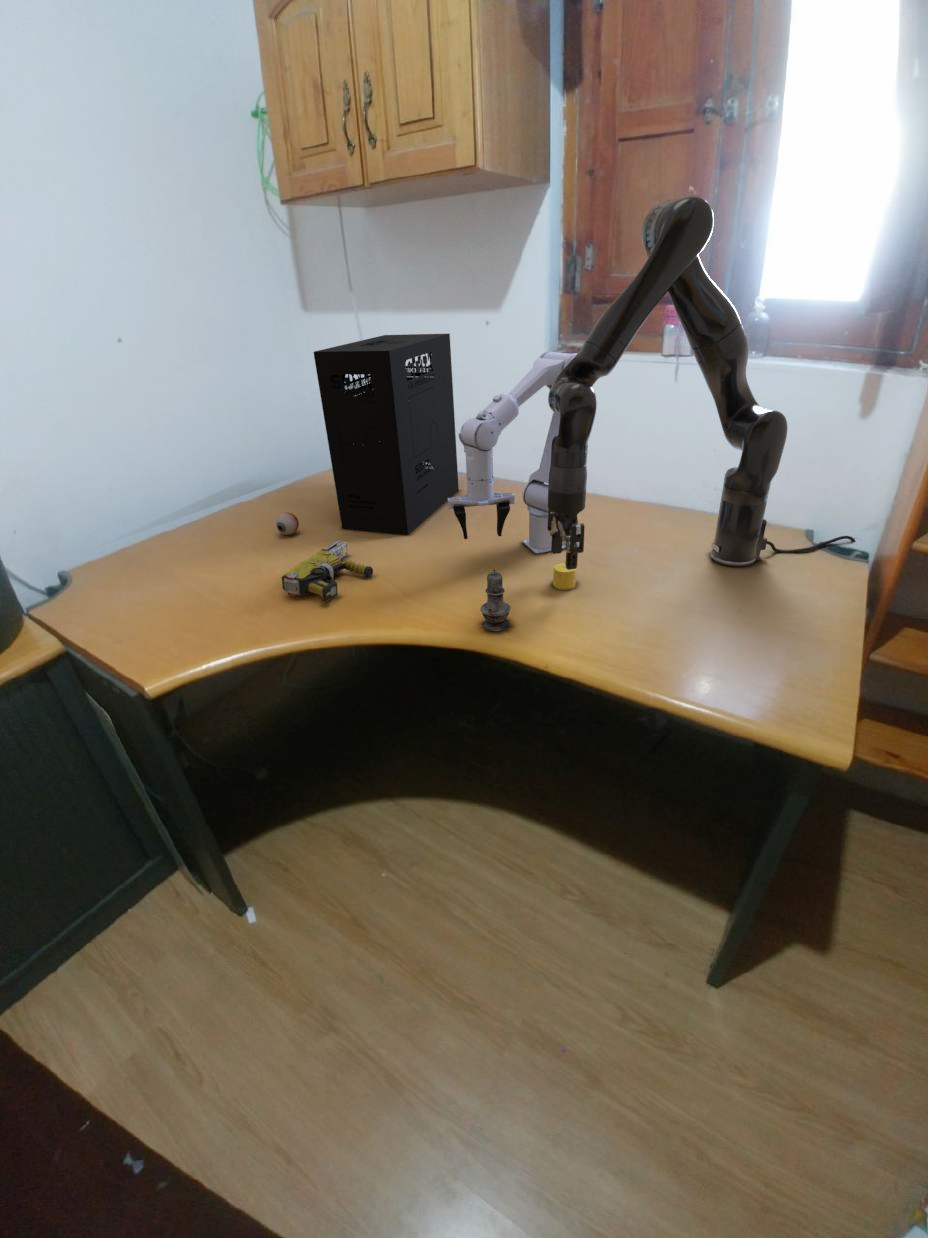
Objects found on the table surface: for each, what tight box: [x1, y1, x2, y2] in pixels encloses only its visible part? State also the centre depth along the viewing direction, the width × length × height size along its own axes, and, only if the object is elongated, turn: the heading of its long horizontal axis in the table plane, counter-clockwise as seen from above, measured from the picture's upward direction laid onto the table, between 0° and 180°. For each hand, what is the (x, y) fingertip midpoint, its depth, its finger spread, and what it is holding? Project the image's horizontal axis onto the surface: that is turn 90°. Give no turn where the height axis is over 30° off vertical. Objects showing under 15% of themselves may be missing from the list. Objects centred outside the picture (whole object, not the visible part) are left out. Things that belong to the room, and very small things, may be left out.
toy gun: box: [281, 539, 374, 603], centre depth 138 cm, size 5×24×15 cm
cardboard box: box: [313, 333, 460, 535], centre depth 167 cm, size 38×20×45 cm, turn 159°
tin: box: [552, 562, 577, 591], centre depth 130 cm, size 5×5×4 cm
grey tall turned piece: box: [479, 568, 512, 632], centre depth 114 cm, size 6×6×12 cm
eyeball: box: [275, 511, 300, 536], centre depth 163 cm, size 6×6×6 cm
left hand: (482, 536), depth 136 cm, fingers open, 7 cm apart
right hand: (563, 560), depth 128 cm, fingers open, 8 cm apart
